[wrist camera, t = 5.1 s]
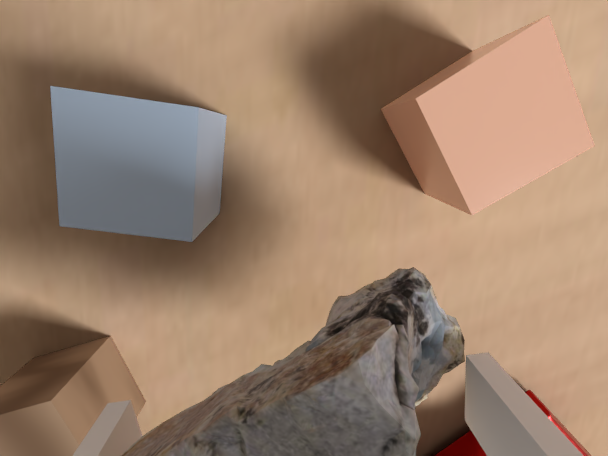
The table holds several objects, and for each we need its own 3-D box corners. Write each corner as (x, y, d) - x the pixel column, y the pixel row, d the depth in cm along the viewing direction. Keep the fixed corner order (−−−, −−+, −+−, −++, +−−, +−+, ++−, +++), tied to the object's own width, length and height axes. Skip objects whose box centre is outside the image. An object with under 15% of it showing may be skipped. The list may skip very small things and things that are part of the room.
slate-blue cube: (124, 200, 17) (59, 226, 12) (123, 100, 16) (50, 85, 11) (220, 212, 18) (192, 242, 13) (226, 115, 16) (198, 107, 11)
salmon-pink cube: (423, 193, 18) (472, 215, 13) (380, 109, 16) (415, 98, 12) (510, 142, 17) (594, 146, 12) (471, 51, 16) (548, 14, 11)
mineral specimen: (336, 334, 18) (248, 185, 13) (507, 381, 13) (482, 168, 8) (227, 548, 13) (-9, 443, 7) (453, 774, 8) (228, 987, 2)
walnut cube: (74, 420, 21) (9, 504, 16) (34, 357, 20) (-50, 428, 15) (146, 400, 21) (101, 480, 16) (111, 334, 20) (51, 400, 15)
